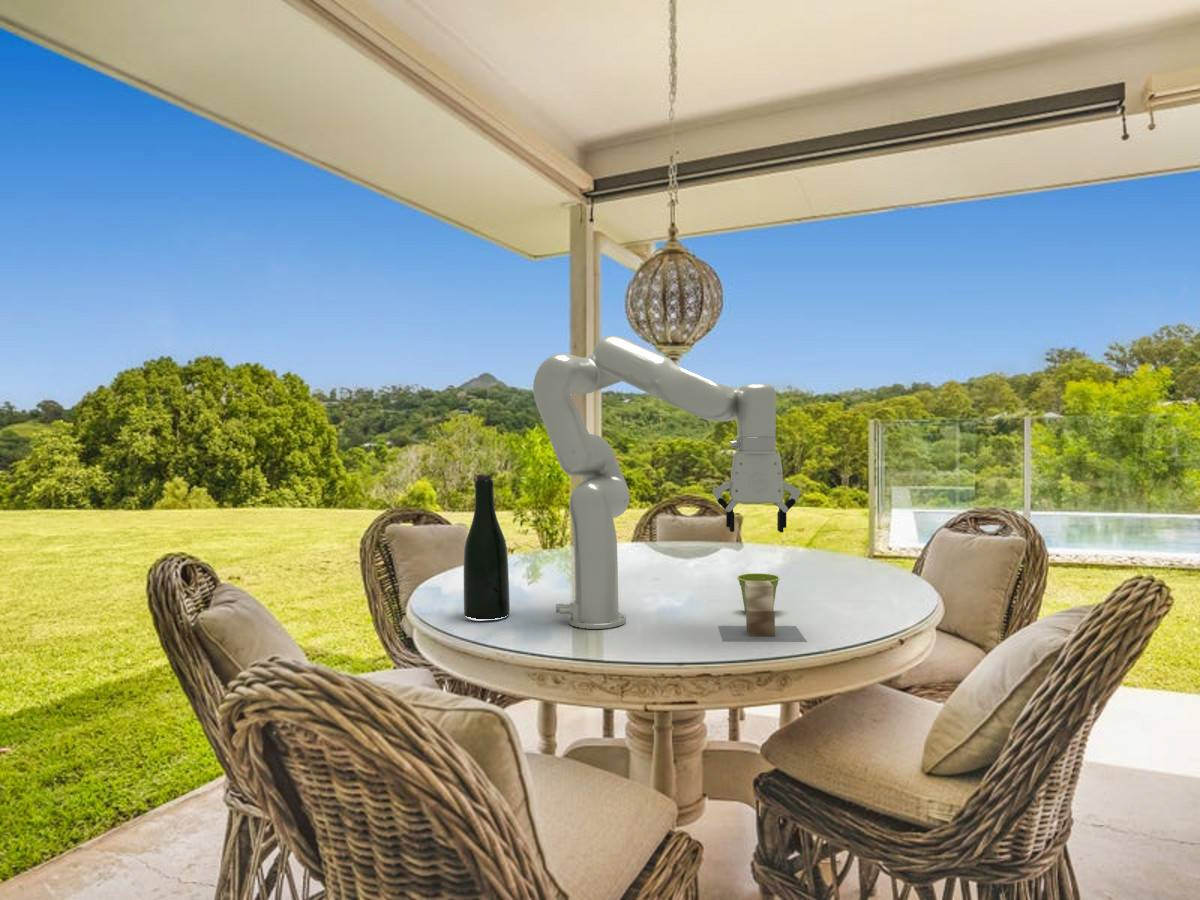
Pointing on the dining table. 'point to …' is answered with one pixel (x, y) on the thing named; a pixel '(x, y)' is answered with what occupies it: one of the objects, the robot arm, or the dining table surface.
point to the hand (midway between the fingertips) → (756, 531)
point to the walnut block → (760, 623)
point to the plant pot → (757, 577)
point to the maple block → (759, 596)
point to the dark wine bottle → (485, 559)
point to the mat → (742, 636)
